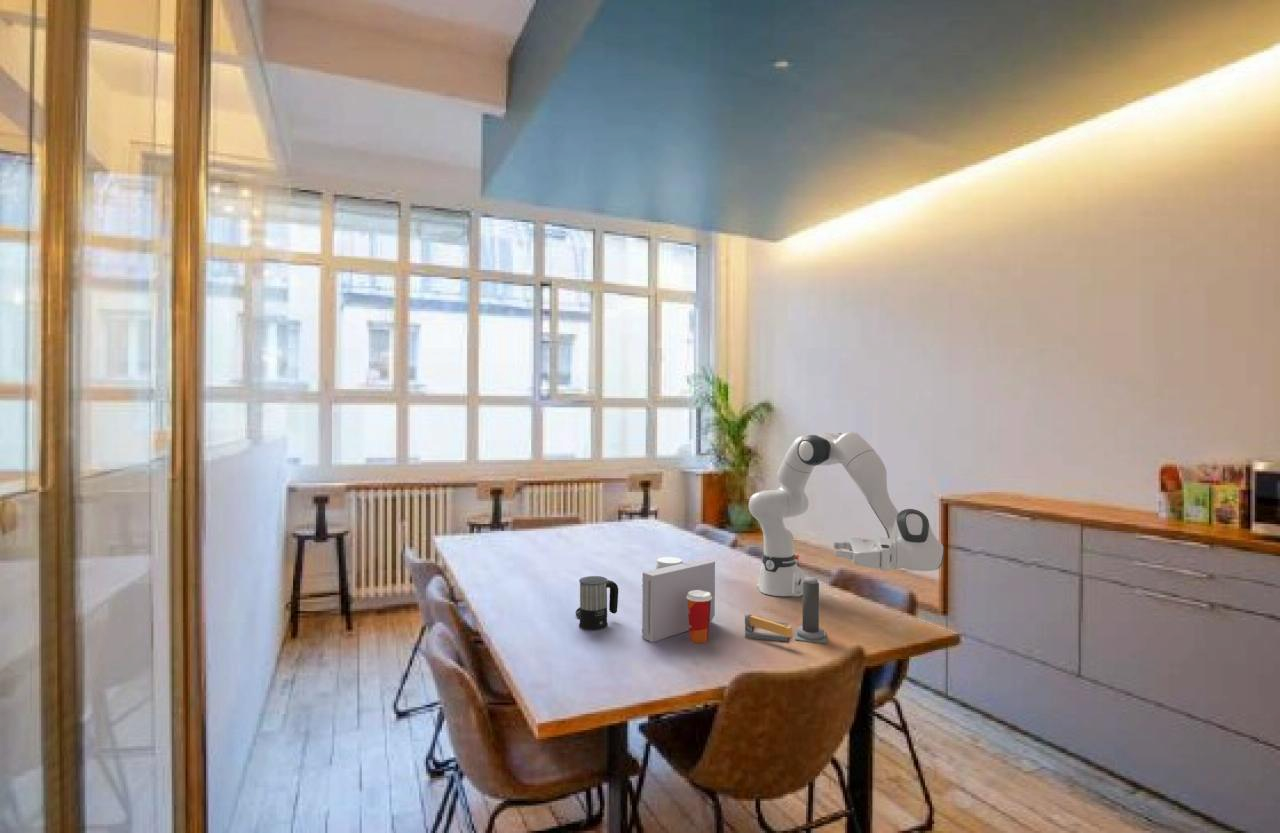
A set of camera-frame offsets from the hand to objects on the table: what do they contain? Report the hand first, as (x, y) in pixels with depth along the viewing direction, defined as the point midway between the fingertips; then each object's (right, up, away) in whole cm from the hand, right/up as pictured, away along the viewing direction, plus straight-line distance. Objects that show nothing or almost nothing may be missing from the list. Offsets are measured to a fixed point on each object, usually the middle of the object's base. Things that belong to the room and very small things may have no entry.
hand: (834, 549), depth 182 cm
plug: (-7, -27, +2) cm, 28 cm away
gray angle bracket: (-20, -27, +5) cm, 34 cm away
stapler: (-21, -24, -2) cm, 32 cm away
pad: (-7, -27, +2) cm, 28 cm away
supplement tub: (-49, -27, +37) cm, 67 cm away
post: (-26, -27, +3) cm, 37 cm away
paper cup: (-41, -27, -1) cm, 50 cm away
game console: (-47, -27, +7) cm, 55 cm away
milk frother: (-75, -27, +14) cm, 81 cm away
